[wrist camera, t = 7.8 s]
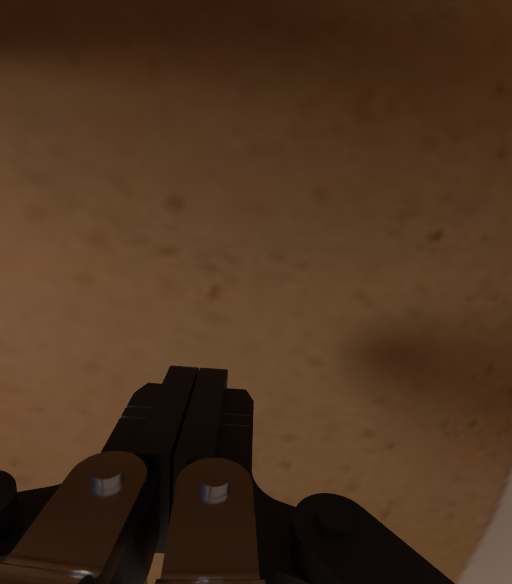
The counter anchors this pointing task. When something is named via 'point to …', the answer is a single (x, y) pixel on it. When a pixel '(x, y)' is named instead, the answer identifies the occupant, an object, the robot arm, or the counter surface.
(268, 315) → the counter surface
